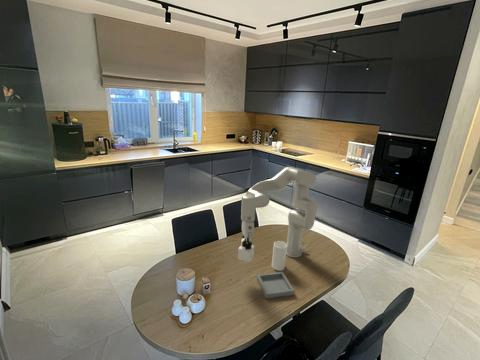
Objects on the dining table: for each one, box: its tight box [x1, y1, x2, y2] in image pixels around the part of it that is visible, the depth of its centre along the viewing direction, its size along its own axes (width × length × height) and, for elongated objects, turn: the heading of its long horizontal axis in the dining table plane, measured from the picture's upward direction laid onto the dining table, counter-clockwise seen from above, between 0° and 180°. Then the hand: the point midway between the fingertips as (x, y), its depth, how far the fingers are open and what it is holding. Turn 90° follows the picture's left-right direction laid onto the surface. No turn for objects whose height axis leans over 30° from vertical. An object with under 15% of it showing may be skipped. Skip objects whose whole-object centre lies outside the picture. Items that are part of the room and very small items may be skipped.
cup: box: [271, 240, 287, 272], centre depth 160 cm, size 8×8×16 cm
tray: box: [256, 271, 295, 300], centre depth 144 cm, size 16×16×3 cm
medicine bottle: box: [237, 238, 255, 263], centre depth 146 cm, size 7×7×12 cm
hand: (246, 245), depth 145 cm, fingers closed on medicine bottle, 6 cm apart
